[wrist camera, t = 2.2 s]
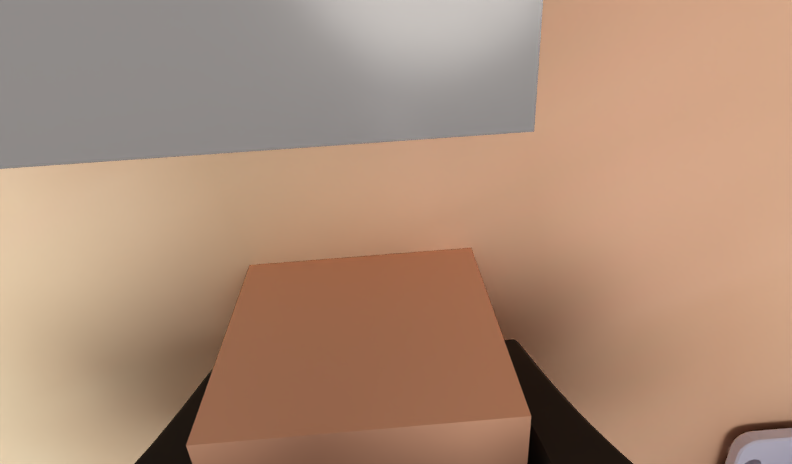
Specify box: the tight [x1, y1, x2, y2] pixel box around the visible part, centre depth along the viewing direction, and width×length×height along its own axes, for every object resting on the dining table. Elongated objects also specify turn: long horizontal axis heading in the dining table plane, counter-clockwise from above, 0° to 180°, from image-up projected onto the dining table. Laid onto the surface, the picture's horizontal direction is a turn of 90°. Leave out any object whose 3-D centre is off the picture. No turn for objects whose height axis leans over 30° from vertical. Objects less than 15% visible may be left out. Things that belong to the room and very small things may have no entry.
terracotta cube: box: [186, 248, 531, 464], centre depth 11 cm, size 5×5×5 cm
